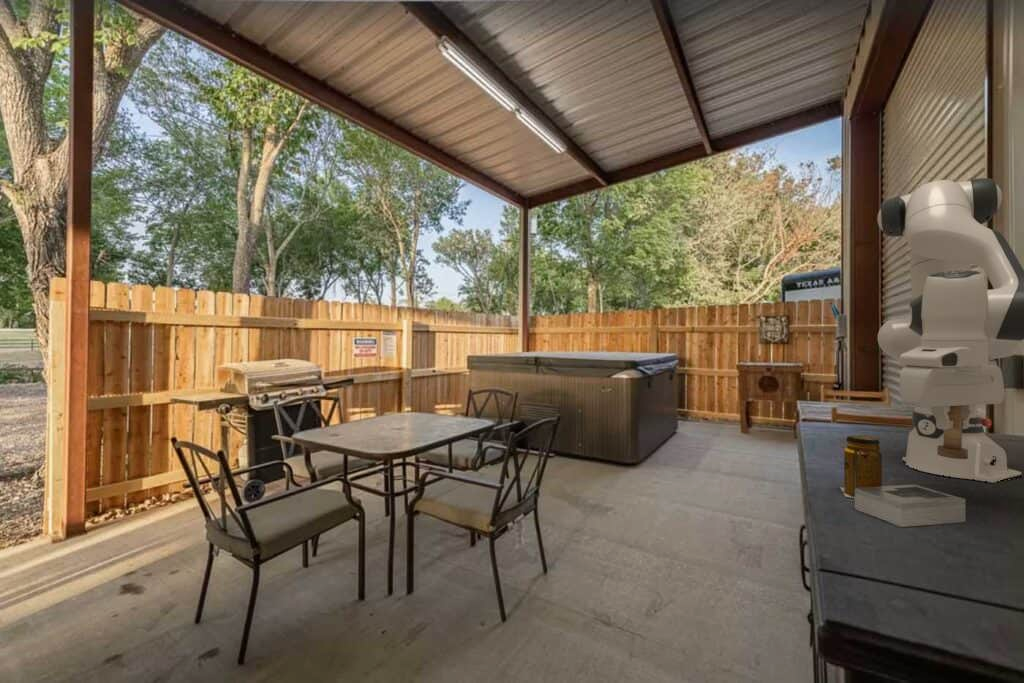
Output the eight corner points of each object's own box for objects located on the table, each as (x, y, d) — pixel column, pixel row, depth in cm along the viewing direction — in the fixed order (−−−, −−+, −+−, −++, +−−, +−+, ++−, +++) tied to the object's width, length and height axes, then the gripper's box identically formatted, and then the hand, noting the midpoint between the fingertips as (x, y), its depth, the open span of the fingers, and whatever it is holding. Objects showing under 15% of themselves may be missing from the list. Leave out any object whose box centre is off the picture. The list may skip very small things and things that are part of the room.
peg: (947, 452, 82) (948, 401, 82) (973, 458, 78) (974, 404, 78) (931, 453, 82) (932, 402, 82) (957, 459, 78) (957, 405, 78)
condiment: (839, 487, 92) (839, 432, 92) (890, 495, 88) (890, 437, 88) (845, 497, 86) (845, 438, 86) (900, 506, 82) (900, 444, 82)
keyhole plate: (914, 504, 82) (914, 484, 82) (965, 521, 74) (965, 499, 74) (854, 509, 80) (854, 488, 80) (901, 527, 72) (901, 503, 72)
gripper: (974, 354, 85) (973, 422, 85) (892, 356, 81) (891, 427, 81) (1017, 356, 79) (1016, 429, 79) (930, 357, 75) (929, 435, 75)
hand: (952, 428), depth 80 cm, fingers closed on peg, 2 cm apart
